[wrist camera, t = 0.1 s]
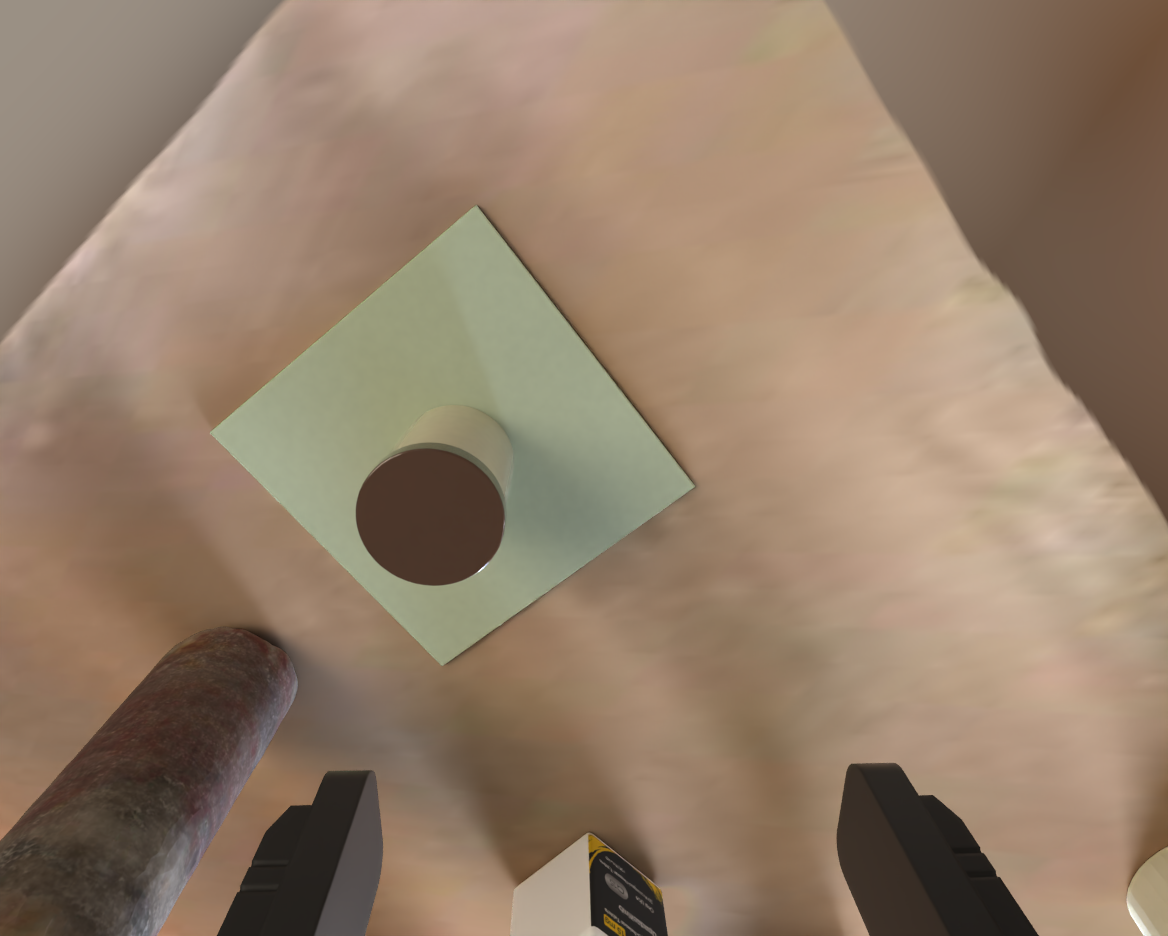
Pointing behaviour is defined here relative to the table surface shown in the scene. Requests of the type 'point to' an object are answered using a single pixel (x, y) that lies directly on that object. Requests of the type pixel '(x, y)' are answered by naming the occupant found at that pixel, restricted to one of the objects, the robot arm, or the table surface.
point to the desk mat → (469, 378)
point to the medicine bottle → (588, 896)
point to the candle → (146, 792)
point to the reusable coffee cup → (1150, 895)
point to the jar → (438, 497)
